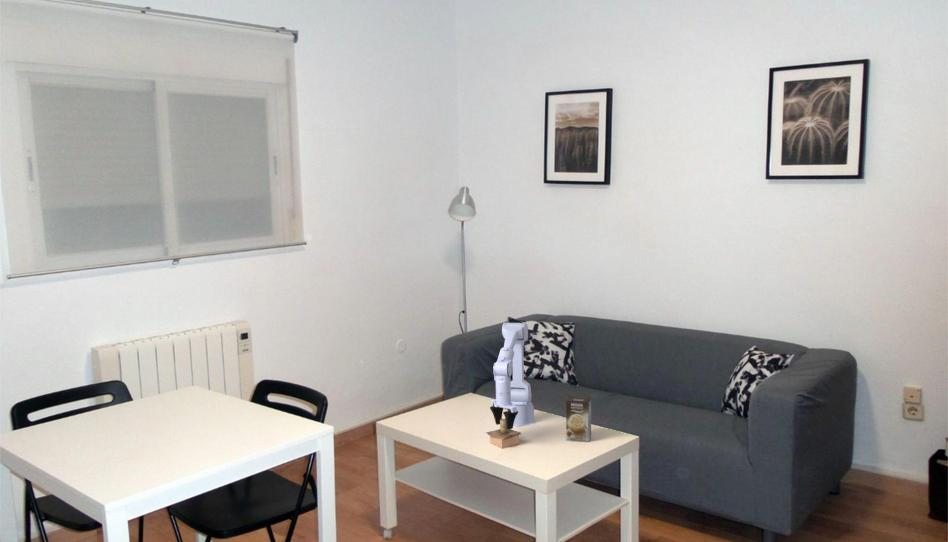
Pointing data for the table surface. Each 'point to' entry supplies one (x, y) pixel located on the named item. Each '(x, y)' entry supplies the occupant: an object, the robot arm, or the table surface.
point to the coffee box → (578, 419)
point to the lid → (504, 431)
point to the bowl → (504, 442)
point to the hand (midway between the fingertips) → (504, 426)
